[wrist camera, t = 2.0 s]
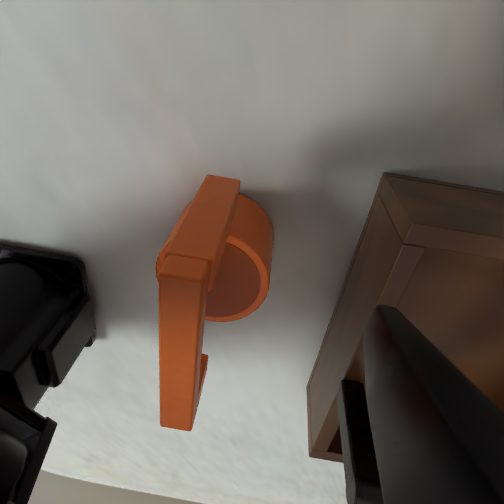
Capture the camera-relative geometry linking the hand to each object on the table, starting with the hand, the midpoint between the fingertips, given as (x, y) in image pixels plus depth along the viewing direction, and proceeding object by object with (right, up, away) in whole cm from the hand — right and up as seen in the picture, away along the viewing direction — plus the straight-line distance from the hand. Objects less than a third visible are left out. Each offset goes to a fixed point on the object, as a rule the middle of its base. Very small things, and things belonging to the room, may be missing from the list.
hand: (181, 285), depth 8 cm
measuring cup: (0, +2, +9) cm, 9 cm away
